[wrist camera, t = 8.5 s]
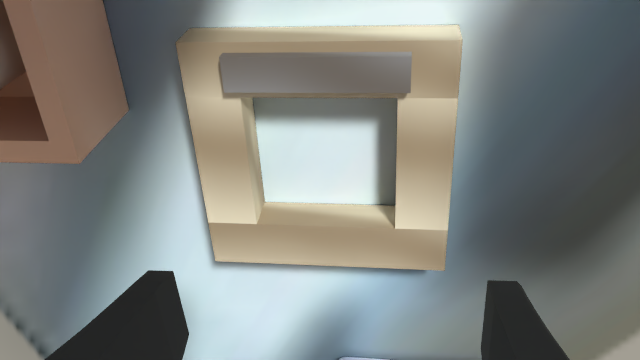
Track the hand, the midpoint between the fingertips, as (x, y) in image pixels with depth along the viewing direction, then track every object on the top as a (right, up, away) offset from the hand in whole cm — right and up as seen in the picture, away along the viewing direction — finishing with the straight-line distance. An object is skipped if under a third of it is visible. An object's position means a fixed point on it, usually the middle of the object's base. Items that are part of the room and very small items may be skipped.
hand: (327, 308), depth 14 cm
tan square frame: (0, +4, +8) cm, 9 cm away
